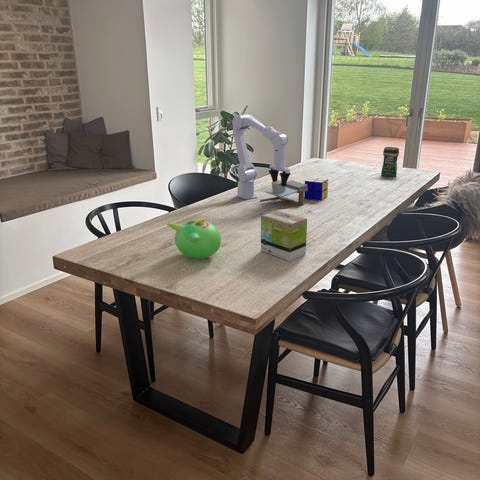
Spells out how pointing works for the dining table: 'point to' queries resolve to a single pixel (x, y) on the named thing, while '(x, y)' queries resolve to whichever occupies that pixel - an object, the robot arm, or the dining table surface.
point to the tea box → (283, 235)
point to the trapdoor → (289, 189)
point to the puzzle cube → (316, 189)
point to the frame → (300, 202)
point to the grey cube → (278, 187)
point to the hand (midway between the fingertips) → (279, 184)
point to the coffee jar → (390, 161)
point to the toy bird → (197, 238)
